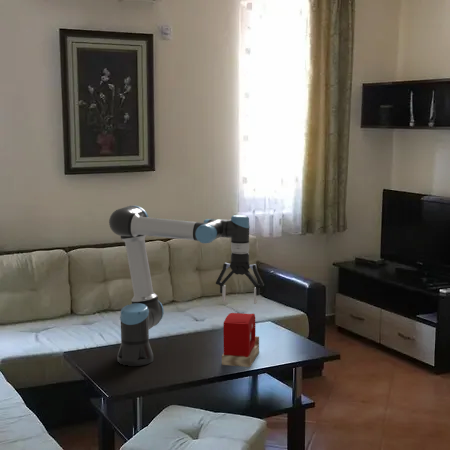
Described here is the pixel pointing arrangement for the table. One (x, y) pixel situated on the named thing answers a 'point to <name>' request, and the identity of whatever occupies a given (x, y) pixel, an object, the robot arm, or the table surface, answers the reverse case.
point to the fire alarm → (239, 334)
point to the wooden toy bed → (242, 357)
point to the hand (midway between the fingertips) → (239, 302)
